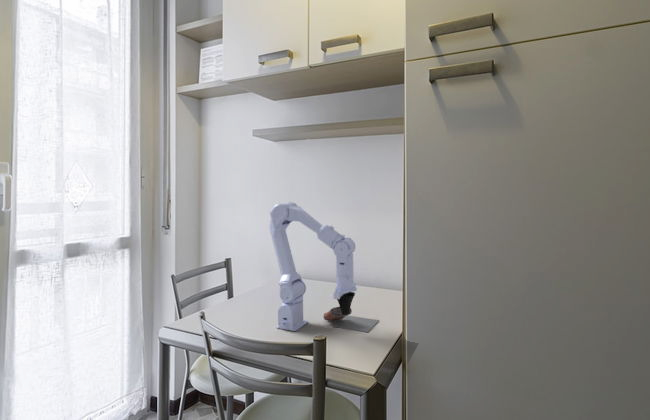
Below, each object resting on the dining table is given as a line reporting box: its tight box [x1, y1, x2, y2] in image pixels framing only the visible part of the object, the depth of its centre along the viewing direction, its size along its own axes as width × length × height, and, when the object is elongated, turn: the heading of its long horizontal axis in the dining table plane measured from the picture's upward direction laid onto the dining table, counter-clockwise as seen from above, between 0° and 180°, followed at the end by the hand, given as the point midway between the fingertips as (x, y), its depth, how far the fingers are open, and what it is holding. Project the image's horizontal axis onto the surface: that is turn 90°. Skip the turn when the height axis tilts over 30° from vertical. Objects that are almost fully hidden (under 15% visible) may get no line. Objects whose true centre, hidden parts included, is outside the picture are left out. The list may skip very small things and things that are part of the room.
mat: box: [330, 315, 380, 333], centre depth 134 cm, size 12×14×1 cm
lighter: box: [322, 306, 353, 322], centre depth 134 cm, size 8×3×10 cm
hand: (345, 314), depth 125 cm, fingers closed
